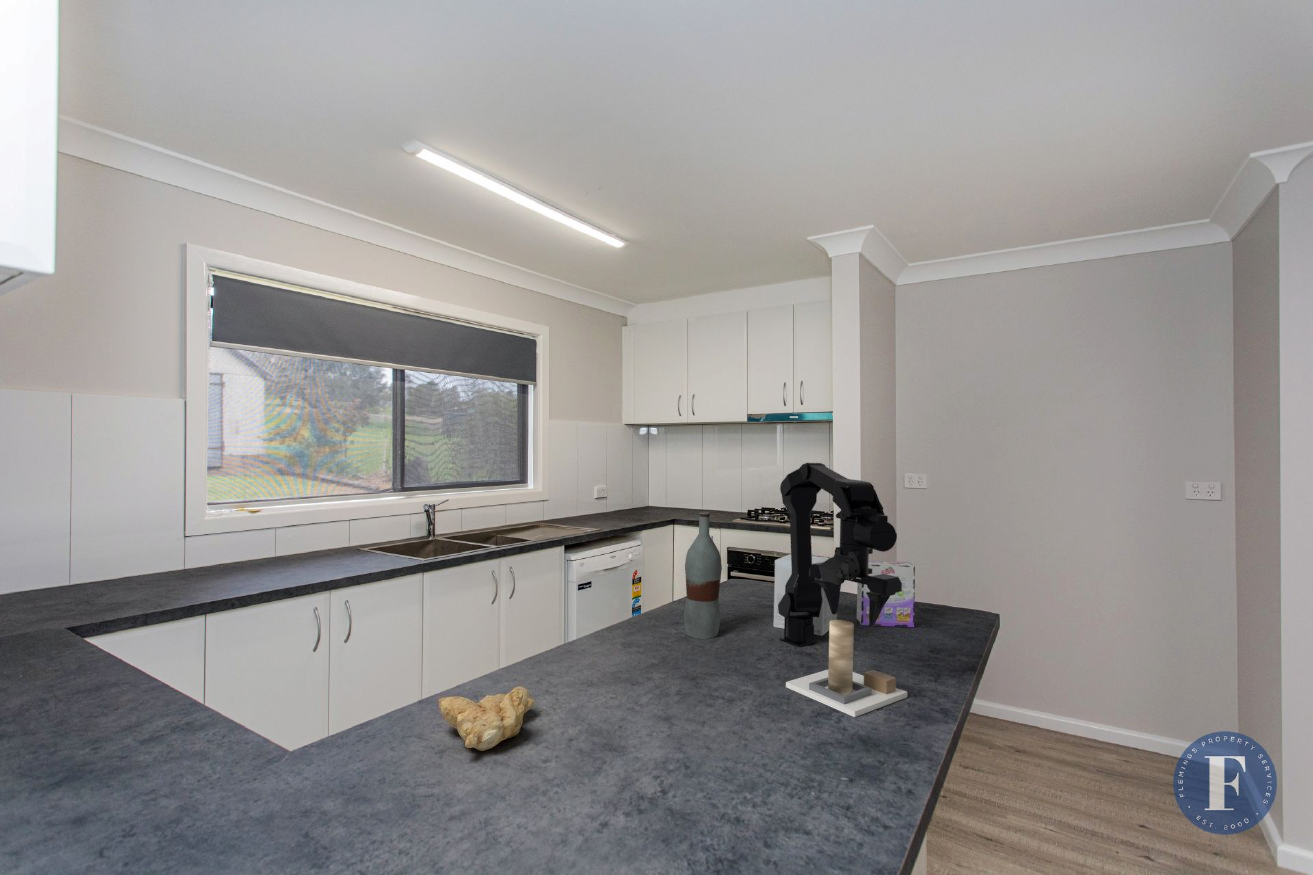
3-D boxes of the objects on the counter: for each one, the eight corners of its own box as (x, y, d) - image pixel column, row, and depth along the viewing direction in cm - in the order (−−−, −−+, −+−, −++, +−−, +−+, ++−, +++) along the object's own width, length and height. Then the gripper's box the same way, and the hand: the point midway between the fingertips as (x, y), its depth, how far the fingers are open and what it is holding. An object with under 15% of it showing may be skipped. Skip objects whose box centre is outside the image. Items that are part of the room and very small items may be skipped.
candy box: (908, 621, 172) (909, 561, 172) (914, 628, 166) (916, 565, 166) (855, 619, 174) (857, 559, 174) (860, 625, 168) (862, 563, 168)
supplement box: (838, 624, 168) (839, 558, 168) (822, 636, 157) (824, 566, 157) (790, 615, 175) (791, 552, 175) (772, 627, 164) (773, 559, 164)
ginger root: (431, 759, 91) (436, 699, 93) (437, 736, 106) (441, 685, 107) (542, 751, 95) (544, 694, 97) (532, 730, 110) (534, 681, 112)
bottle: (676, 630, 159) (679, 510, 159) (708, 626, 163) (711, 510, 163) (694, 641, 151) (697, 515, 151) (727, 637, 155) (730, 514, 155)
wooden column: (824, 692, 119) (826, 623, 119) (832, 685, 123) (833, 618, 123) (848, 698, 117) (850, 627, 117) (855, 690, 120) (856, 622, 120)
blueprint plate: (785, 687, 124) (786, 669, 124) (838, 671, 133) (838, 654, 133) (854, 717, 111) (855, 697, 111) (907, 697, 120) (907, 678, 120)
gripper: (792, 539, 132) (790, 614, 132) (869, 553, 117) (867, 638, 117) (827, 535, 139) (825, 607, 139) (904, 548, 124) (902, 628, 124)
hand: (852, 619), depth 130 cm, fingers open, 9 cm apart
